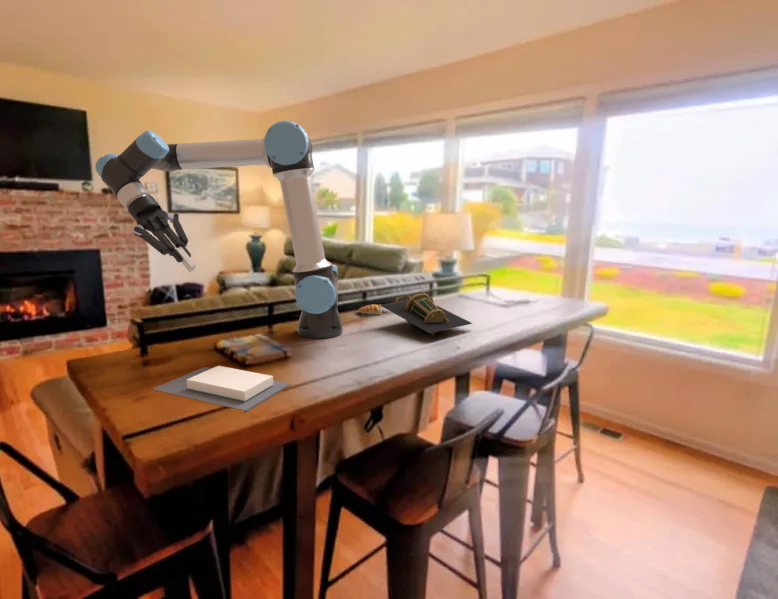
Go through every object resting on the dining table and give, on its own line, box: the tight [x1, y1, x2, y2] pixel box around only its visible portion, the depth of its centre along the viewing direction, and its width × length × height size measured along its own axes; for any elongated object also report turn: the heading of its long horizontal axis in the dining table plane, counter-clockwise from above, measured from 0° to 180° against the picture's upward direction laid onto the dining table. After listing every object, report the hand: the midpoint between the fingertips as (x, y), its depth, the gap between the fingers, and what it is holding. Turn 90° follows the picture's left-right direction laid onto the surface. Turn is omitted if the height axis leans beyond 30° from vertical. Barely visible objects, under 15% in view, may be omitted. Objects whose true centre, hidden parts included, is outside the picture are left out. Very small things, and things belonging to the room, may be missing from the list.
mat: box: [152, 366, 291, 413], centre depth 105 cm, size 26×16×1 cm, turn 68°
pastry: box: [358, 303, 383, 316], centre depth 182 cm, size 9×7×4 cm
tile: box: [187, 365, 274, 402], centre depth 104 cm, size 2×10×16 cm
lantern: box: [380, 289, 474, 336], centre depth 162 cm, size 14×23×30 cm
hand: (192, 268), depth 124 cm, fingers closed
